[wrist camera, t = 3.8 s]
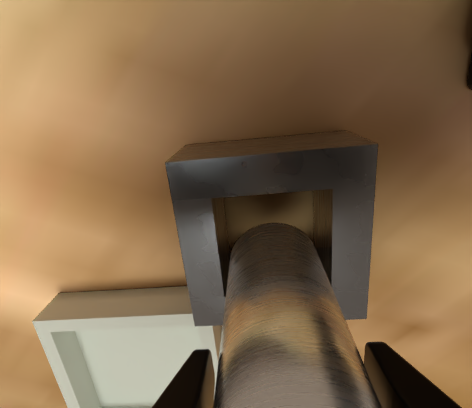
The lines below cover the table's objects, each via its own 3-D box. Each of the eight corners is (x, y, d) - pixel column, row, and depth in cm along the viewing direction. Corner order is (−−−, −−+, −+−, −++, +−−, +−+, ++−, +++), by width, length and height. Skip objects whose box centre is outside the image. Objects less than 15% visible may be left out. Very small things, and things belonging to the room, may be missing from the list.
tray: (215, 284, 18) (210, 312, 16) (232, 401, 22) (229, 438, 19) (58, 292, 19) (32, 321, 17) (98, 404, 23) (81, 440, 20)
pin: (333, 202, 11) (851, 888, 2) (332, 307, 12) (580, 955, 3) (207, 212, 11) (-1, 820, 2) (221, 312, 13) (146, 914, 3)
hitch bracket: (345, 130, 15) (378, 144, 11) (341, 270, 18) (366, 318, 14) (185, 145, 15) (164, 162, 12) (206, 277, 18) (194, 326, 14)
